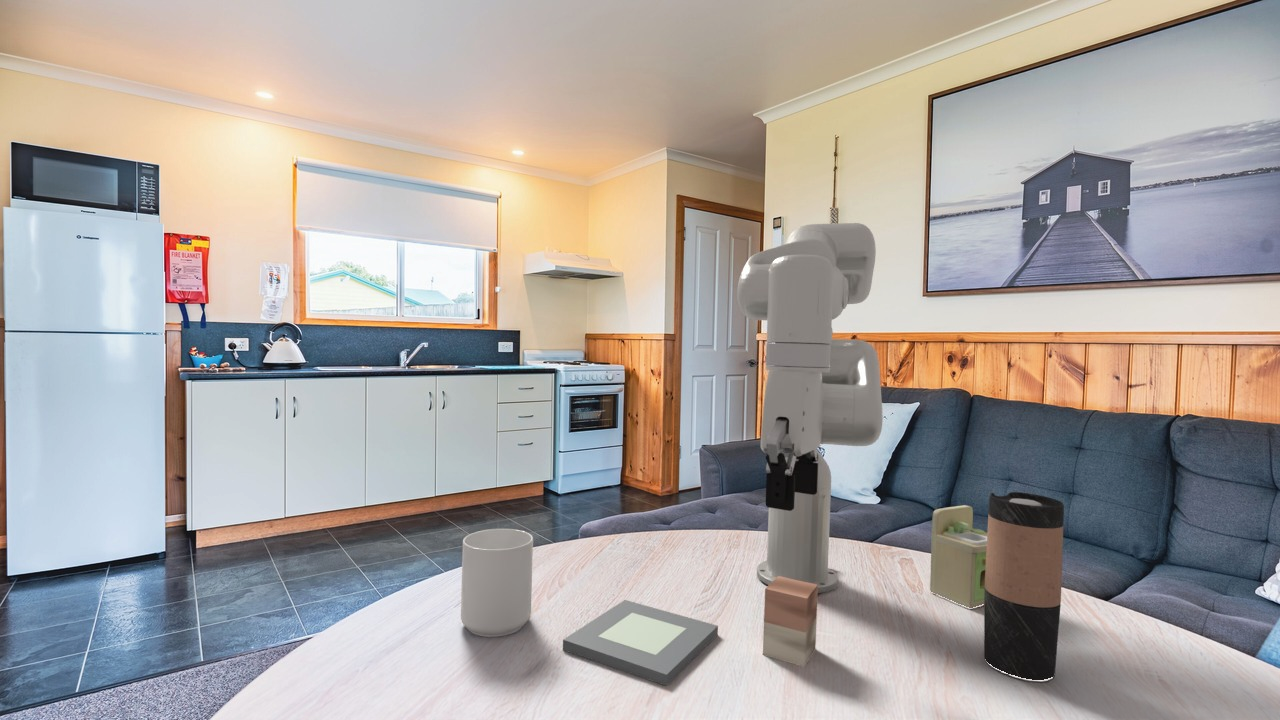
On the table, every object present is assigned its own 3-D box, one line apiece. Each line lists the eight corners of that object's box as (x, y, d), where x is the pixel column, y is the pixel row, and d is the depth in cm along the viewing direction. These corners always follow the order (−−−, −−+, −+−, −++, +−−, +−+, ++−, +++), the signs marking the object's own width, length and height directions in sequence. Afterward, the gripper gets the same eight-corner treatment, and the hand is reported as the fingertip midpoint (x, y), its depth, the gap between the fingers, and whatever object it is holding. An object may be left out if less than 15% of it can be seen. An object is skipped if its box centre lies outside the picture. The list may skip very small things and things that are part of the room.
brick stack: (775, 638, 77) (778, 575, 77) (815, 649, 75) (817, 584, 75) (762, 654, 73) (765, 588, 73) (804, 666, 70) (806, 598, 70)
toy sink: (973, 612, 87) (977, 521, 87) (928, 593, 94) (932, 508, 93) (1010, 603, 91) (1014, 516, 91) (965, 585, 97) (968, 504, 97)
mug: (520, 642, 74) (522, 551, 74) (449, 637, 75) (451, 547, 74) (543, 601, 86) (545, 523, 86) (482, 597, 87) (484, 520, 86)
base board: (624, 608, 85) (624, 599, 85) (717, 635, 78) (717, 625, 78) (562, 649, 73) (563, 639, 73) (666, 685, 65) (666, 674, 65)
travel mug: (1059, 691, 67) (1067, 510, 66) (979, 670, 71) (987, 499, 70) (1055, 662, 73) (1063, 497, 73) (983, 644, 77) (989, 488, 77)
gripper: (789, 358, 83) (784, 484, 83) (741, 357, 68) (736, 510, 68) (845, 360, 79) (840, 492, 79) (808, 359, 64) (802, 521, 64)
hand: (792, 500), depth 74 cm, fingers open, 9 cm apart
